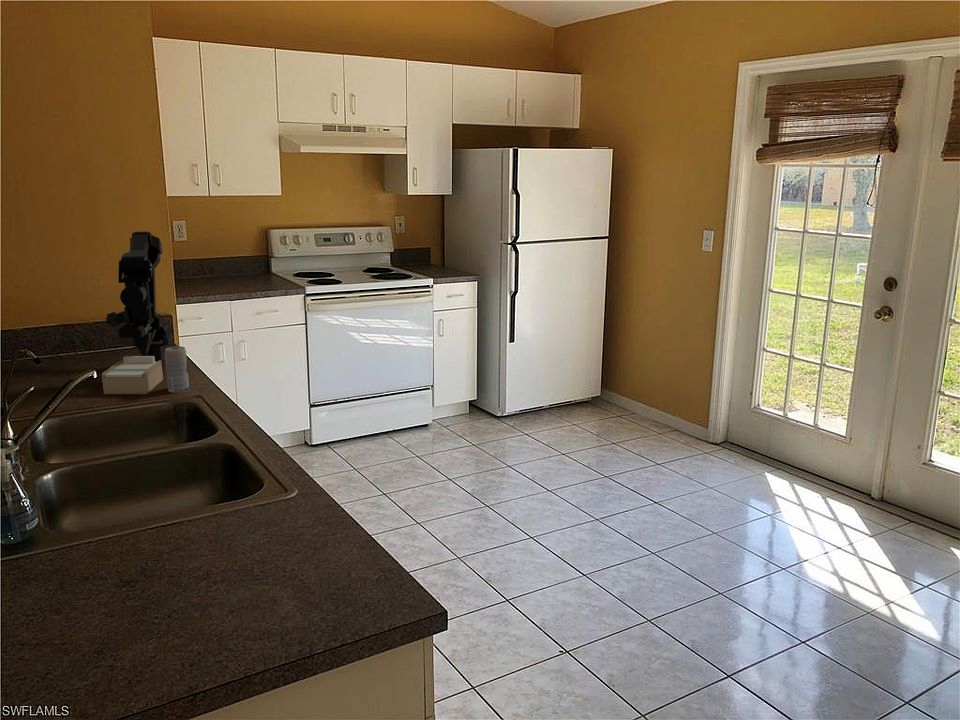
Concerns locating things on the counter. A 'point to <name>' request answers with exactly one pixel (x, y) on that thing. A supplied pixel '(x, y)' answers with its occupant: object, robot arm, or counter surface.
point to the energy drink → (176, 369)
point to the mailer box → (133, 381)
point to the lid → (132, 366)
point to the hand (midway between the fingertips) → (144, 355)
